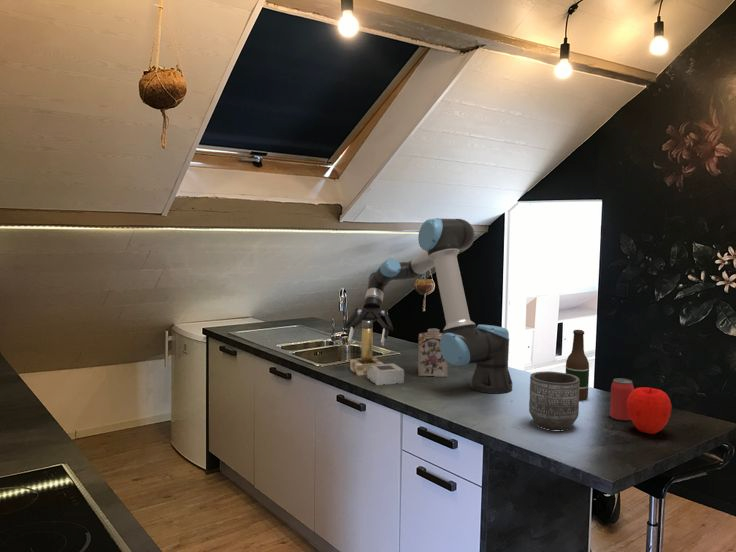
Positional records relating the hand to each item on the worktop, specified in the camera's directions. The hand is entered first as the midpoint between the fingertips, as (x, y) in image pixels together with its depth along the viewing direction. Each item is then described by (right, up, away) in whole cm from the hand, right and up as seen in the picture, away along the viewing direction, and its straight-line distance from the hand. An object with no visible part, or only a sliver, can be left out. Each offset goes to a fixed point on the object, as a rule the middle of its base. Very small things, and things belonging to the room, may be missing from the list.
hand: (365, 343), depth 240 cm
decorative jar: (+27, -13, +1) cm, 30 cm away
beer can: (+80, -18, -53) cm, 98 cm away
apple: (+82, -19, -66) cm, 107 cm away
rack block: (0, -12, +3) cm, 12 cm away
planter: (+57, -18, -61) cm, 85 cm away
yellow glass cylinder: (0, -12, +3) cm, 12 cm away
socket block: (+8, -13, -11) cm, 19 cm away
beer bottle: (+74, -16, -32) cm, 82 cm away
